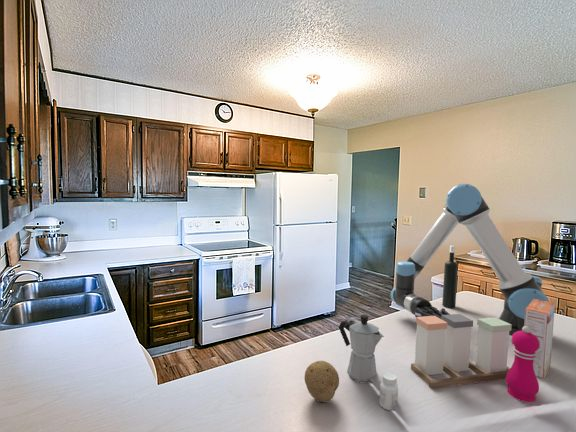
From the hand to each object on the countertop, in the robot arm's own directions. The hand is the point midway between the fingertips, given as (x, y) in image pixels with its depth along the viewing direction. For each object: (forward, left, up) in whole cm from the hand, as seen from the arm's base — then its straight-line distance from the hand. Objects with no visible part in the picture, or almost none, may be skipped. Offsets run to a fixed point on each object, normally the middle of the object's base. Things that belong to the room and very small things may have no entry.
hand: (461, 330), depth 109 cm
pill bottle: (+29, +30, -9) cm, 43 cm away
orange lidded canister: (+14, +13, -8) cm, 21 cm away
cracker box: (-20, +5, -9) cm, 23 cm away
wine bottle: (-15, -52, -9) cm, 55 cm away
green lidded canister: (-4, +11, -8) cm, 14 cm away
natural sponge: (+46, +30, -9) cm, 56 cm away
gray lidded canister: (+6, +10, -8) cm, 14 cm away
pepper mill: (-7, +22, -9) cm, 25 cm away
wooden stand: (+5, +12, -9) cm, 16 cm away
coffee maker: (+35, +16, -9) cm, 40 cm away
